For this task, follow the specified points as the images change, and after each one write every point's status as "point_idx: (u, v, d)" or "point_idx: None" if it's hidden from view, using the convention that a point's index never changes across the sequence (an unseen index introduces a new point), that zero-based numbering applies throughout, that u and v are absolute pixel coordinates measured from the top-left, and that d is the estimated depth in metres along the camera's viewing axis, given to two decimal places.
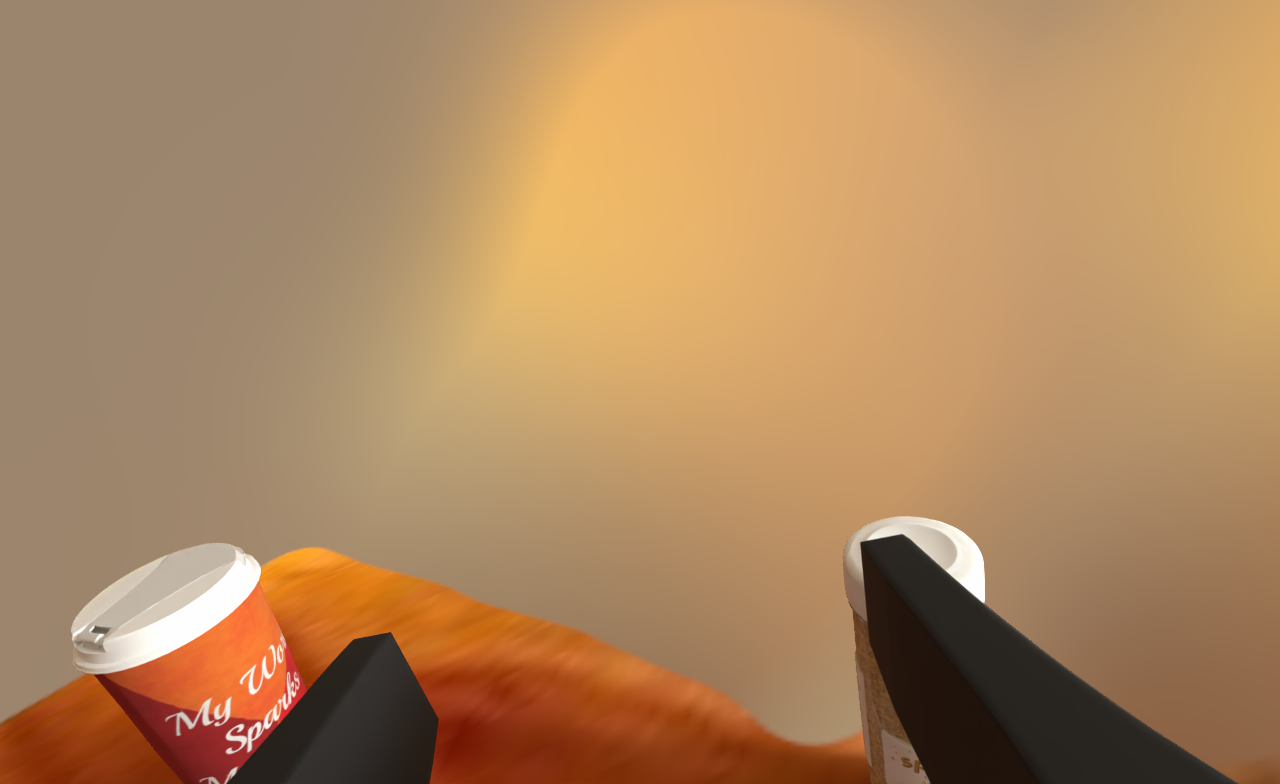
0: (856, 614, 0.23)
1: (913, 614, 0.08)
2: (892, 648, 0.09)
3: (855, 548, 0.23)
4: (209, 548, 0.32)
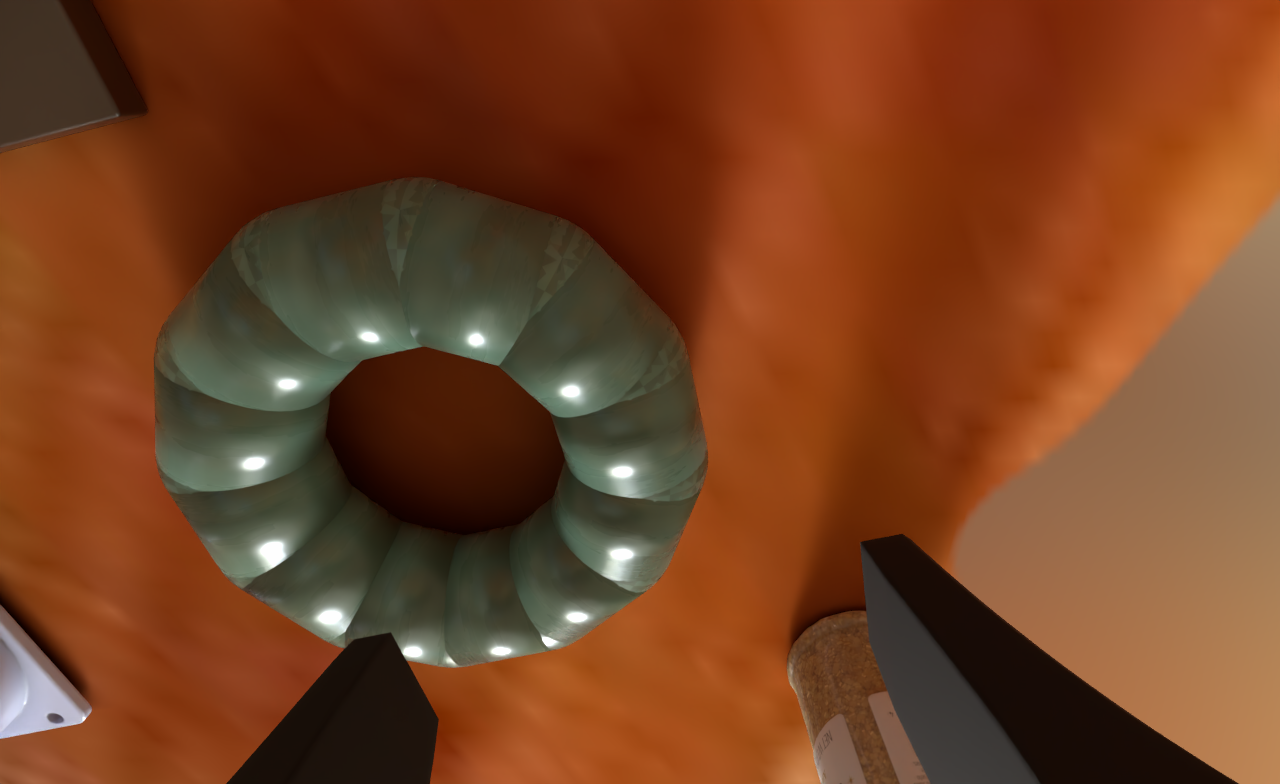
0: None
1: (913, 614, 0.08)
2: (892, 648, 0.09)
3: None
4: None
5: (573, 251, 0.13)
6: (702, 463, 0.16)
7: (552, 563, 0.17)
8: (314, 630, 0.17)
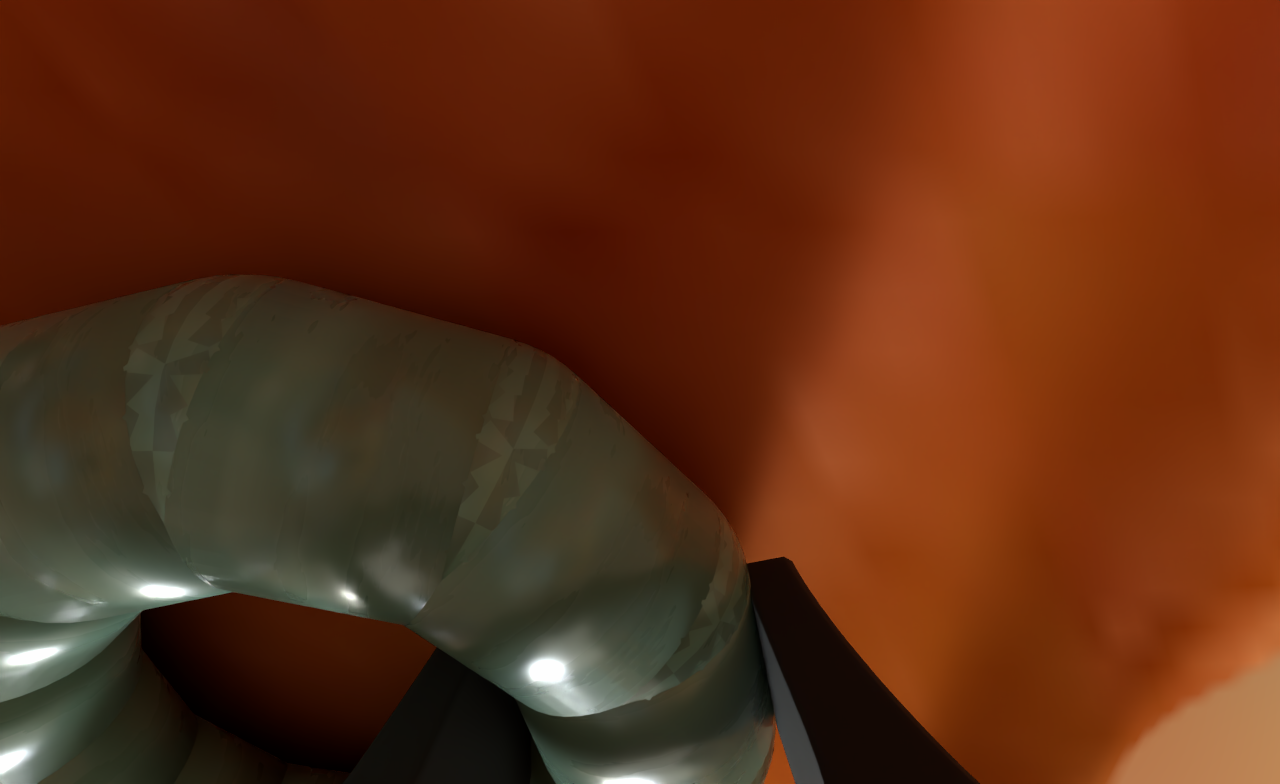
0: None
1: None
2: (767, 671, 0.09)
3: None
4: None
5: (537, 429, 0.07)
6: (769, 747, 0.09)
7: None
8: None
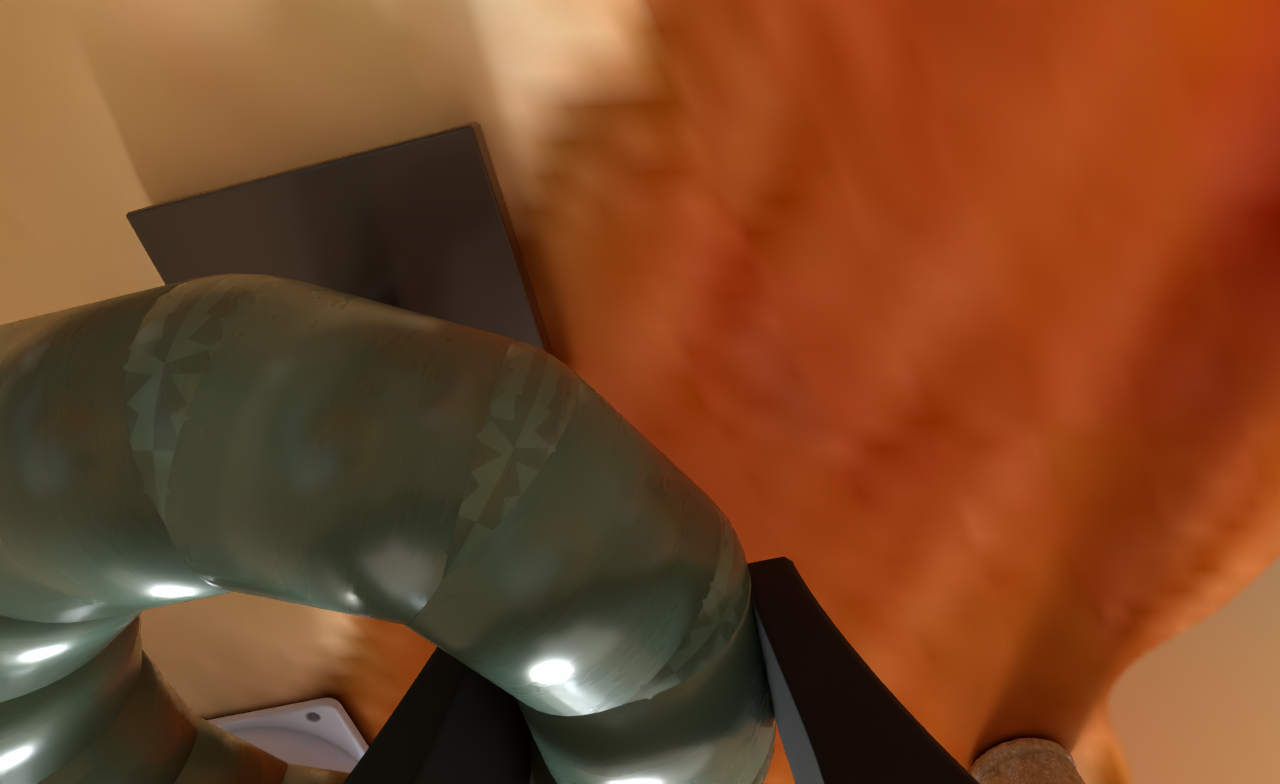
0: None
1: None
2: (767, 671, 0.09)
3: None
4: None
5: (537, 428, 0.07)
6: (770, 746, 0.09)
7: None
8: None
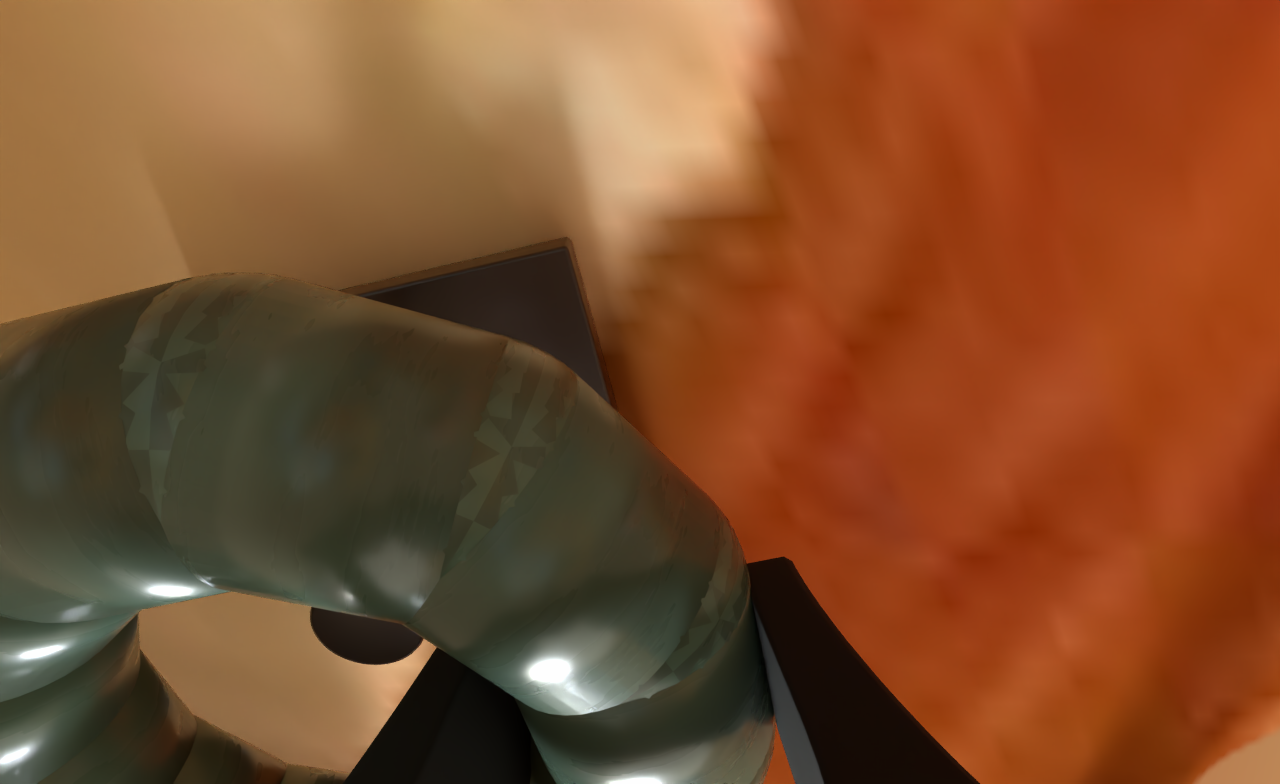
0: None
1: None
2: (767, 671, 0.09)
3: None
4: None
5: (535, 427, 0.07)
6: (769, 745, 0.09)
7: None
8: None
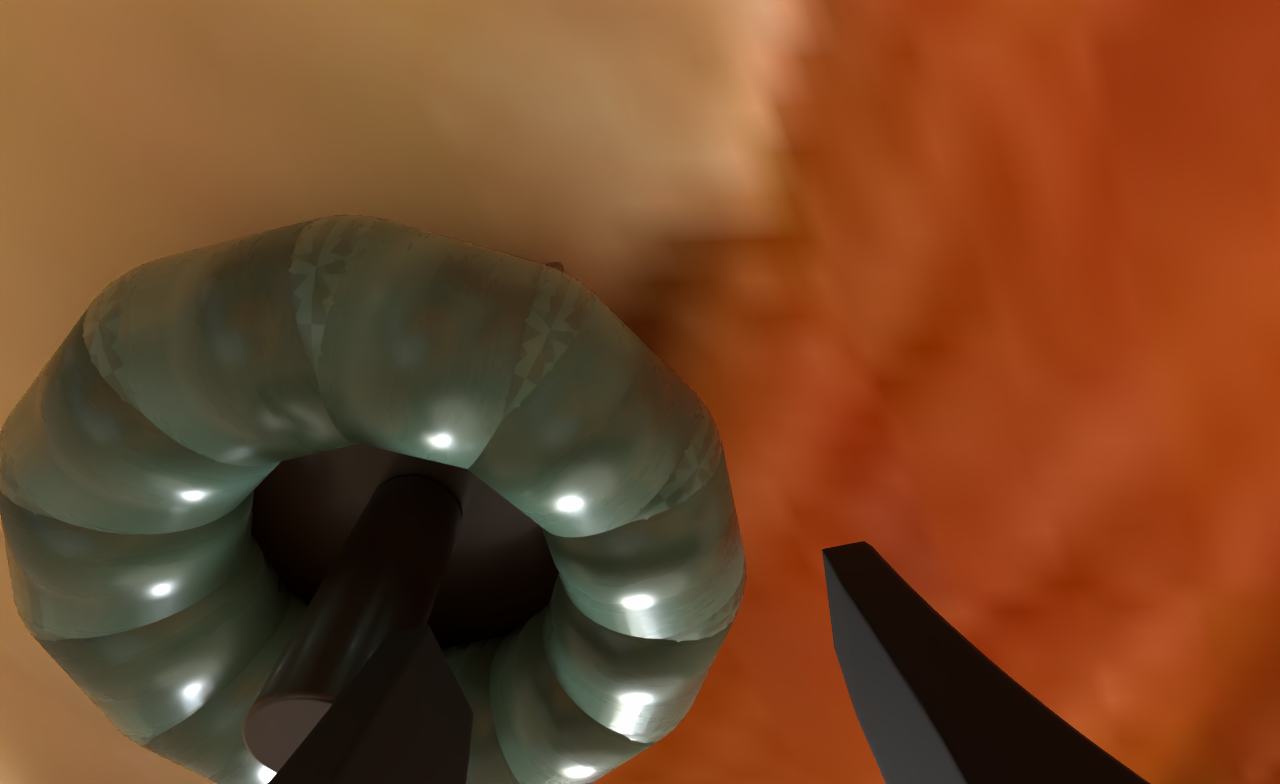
0: None
1: (867, 622, 0.08)
2: (852, 655, 0.09)
3: None
4: None
5: (566, 319, 0.10)
6: (740, 583, 0.12)
7: (544, 709, 0.13)
8: None
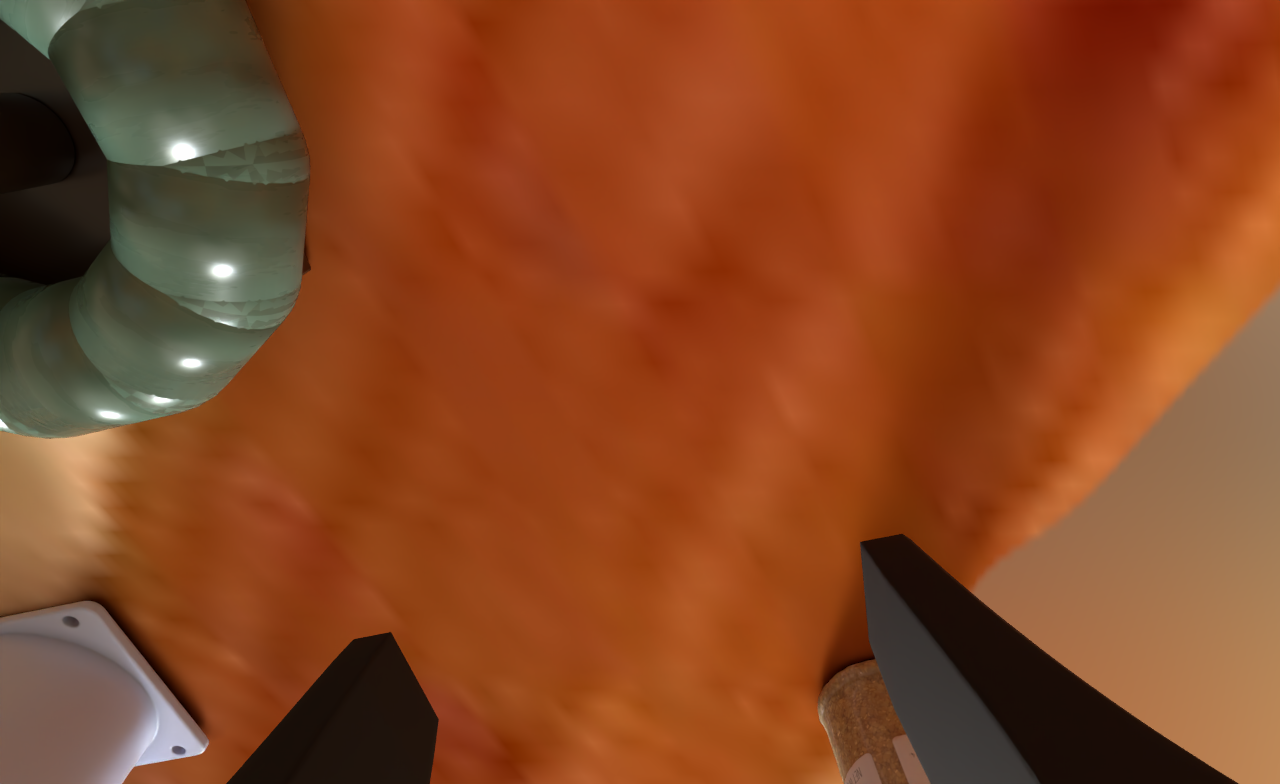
0: None
1: (913, 614, 0.08)
2: (892, 648, 0.09)
3: None
4: None
5: None
6: (266, 142, 0.13)
7: (101, 279, 0.13)
8: None
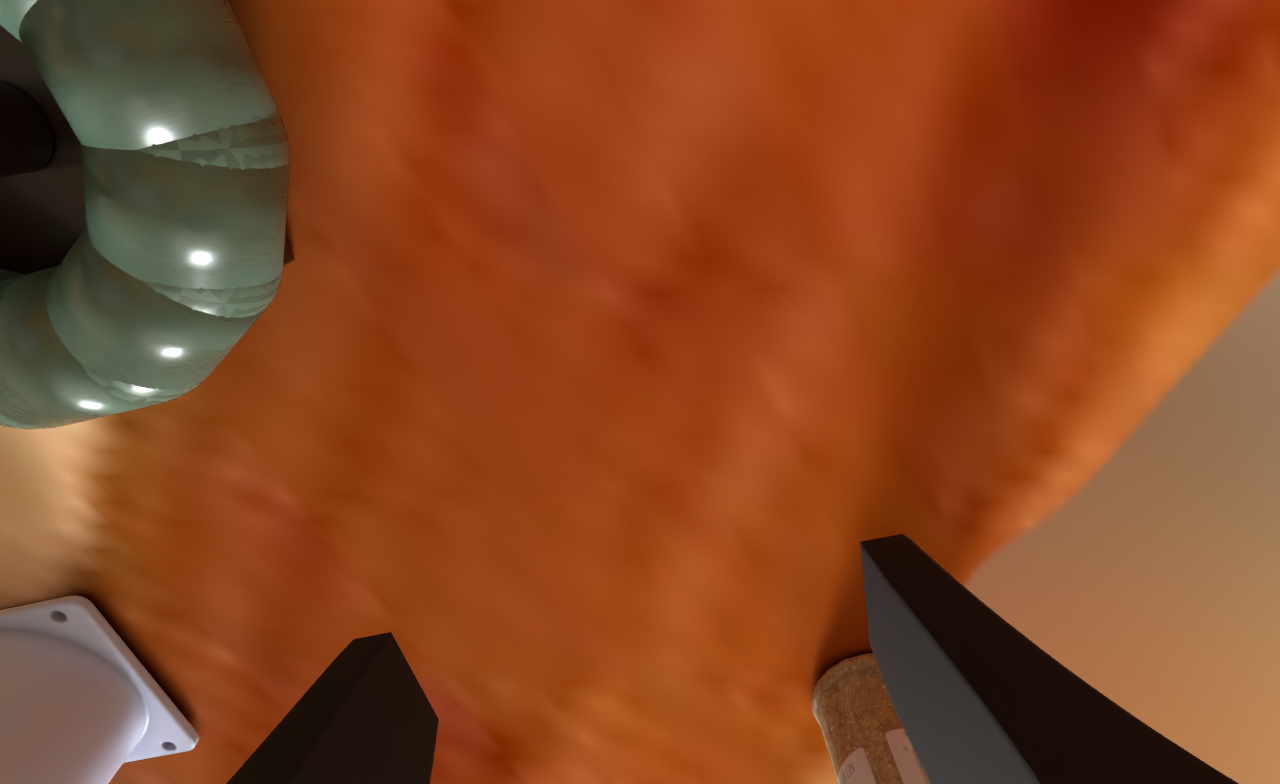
0: None
1: (913, 614, 0.08)
2: (892, 648, 0.09)
3: None
4: None
5: None
6: (242, 126, 0.13)
7: (77, 266, 0.13)
8: None
